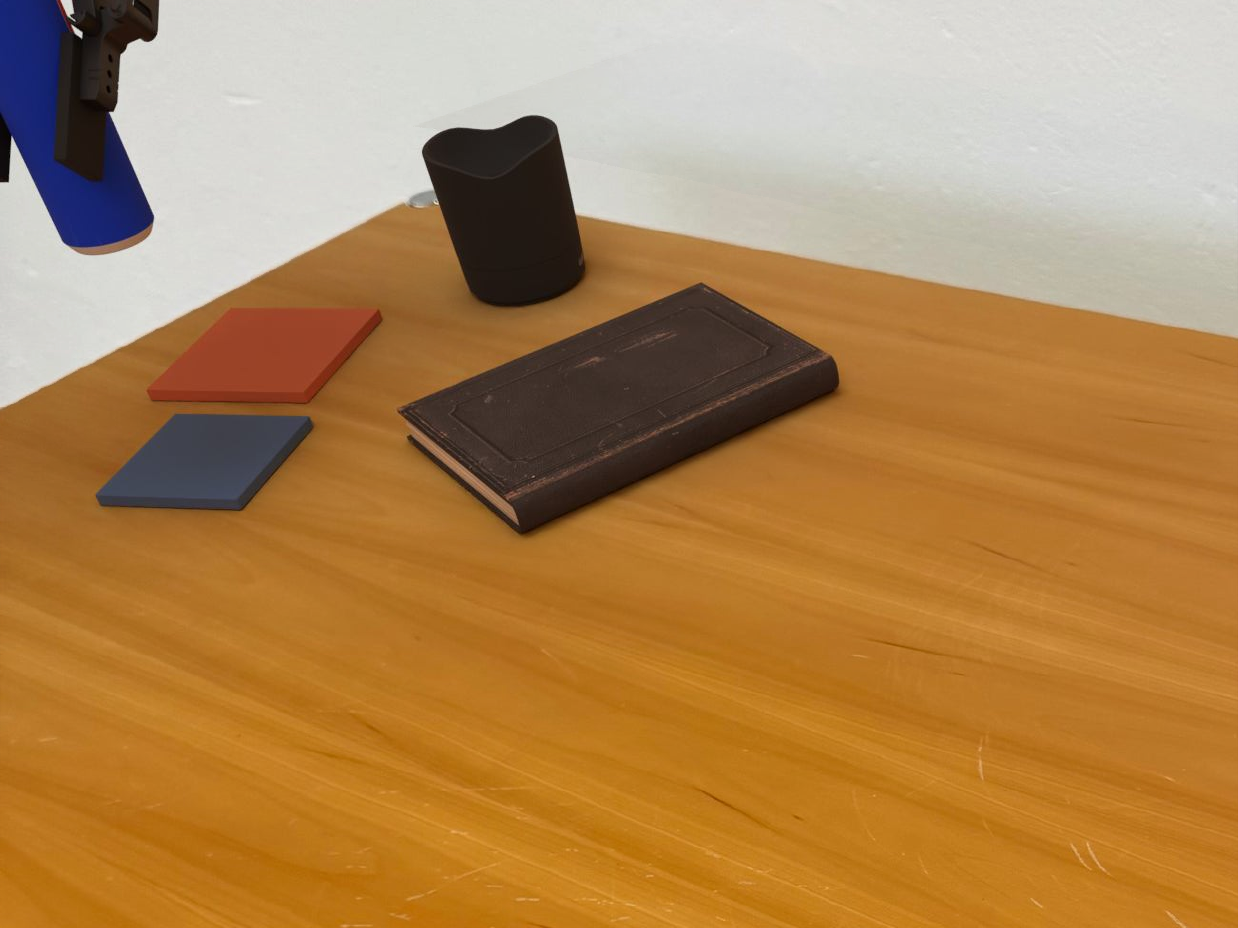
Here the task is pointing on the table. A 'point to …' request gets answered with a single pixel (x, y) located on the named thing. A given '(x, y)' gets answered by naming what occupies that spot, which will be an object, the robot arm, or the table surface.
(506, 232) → the pen holder
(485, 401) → the hardcover book
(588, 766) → the table surface
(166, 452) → the blue mat
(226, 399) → the terracotta mat
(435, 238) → the table surface
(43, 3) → the beverage can
